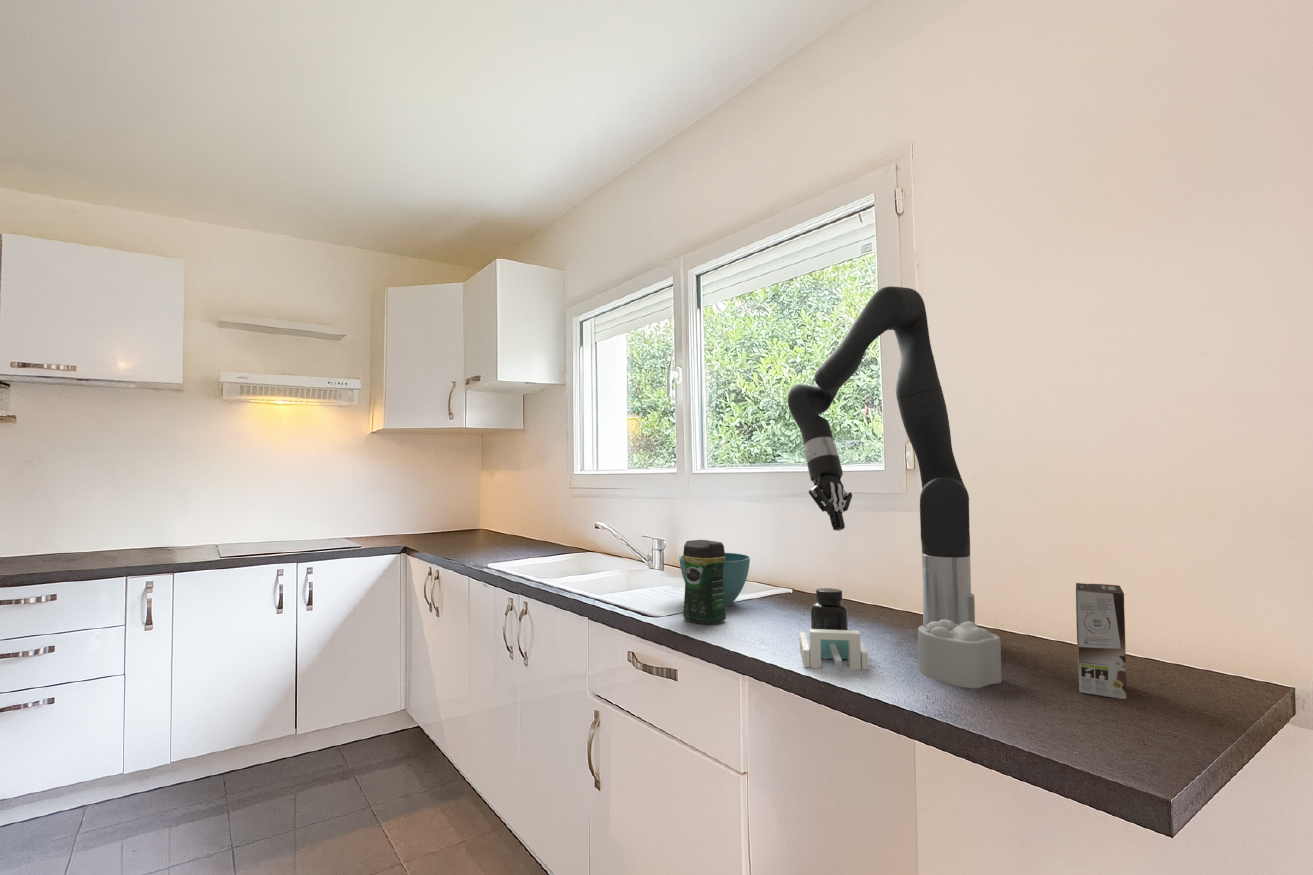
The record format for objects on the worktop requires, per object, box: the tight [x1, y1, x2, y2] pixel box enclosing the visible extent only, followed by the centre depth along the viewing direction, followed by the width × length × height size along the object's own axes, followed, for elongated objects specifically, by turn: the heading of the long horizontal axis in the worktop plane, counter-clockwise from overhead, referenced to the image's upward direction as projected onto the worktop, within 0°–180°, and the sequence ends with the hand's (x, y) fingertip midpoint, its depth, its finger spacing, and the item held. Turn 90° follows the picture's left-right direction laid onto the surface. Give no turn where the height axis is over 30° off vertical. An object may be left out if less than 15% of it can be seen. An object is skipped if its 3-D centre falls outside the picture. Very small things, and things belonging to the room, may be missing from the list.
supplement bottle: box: [810, 587, 849, 630], centre depth 128 cm, size 7×7×12 cm
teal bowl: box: [679, 552, 751, 608], centre depth 174 cm, size 18×18×12 cm
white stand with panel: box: [799, 628, 869, 671], centre depth 125 cm, size 11×13×6 cm
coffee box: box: [1075, 582, 1127, 700], centre depth 108 cm, size 9×6×16 cm
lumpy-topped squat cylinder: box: [917, 620, 1002, 689], centre depth 115 cm, size 10×13×9 cm
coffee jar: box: [682, 539, 727, 625], centre depth 156 cm, size 10×8×19 cm
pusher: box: [821, 639, 848, 668], centre depth 119 cm, size 8×12×4 cm, turn 171°
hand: (839, 529), depth 153 cm, fingers closed
